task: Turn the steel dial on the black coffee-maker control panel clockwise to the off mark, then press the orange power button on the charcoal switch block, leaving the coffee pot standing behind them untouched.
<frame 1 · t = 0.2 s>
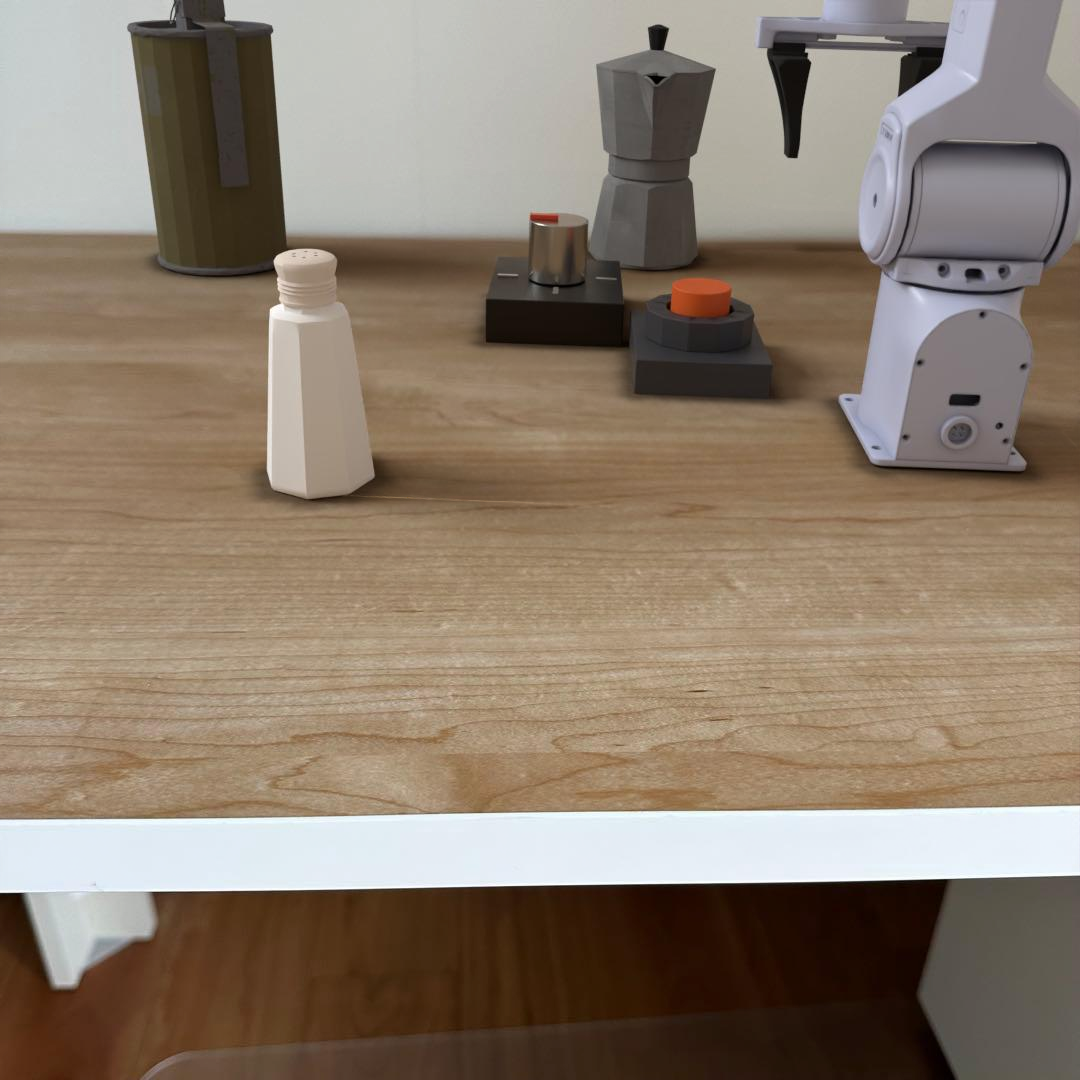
hand: (843, 158, 83), 10 cm above the table, tool pointing down, fingers open, 7 cm apart
pepper shaker: (321, 479, 56), on the table
canister: (226, 262, 92), on the table
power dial: (558, 246, 77), point 5 cm above the table, hinge at 90.0°
switch block: (694, 368, 72), on the table
coffeepot: (642, 255, 98), on the table
dial panel: (555, 320, 80), on the table
power button: (700, 299, 70), point 4 cm above the table, slide at 0.1 cm
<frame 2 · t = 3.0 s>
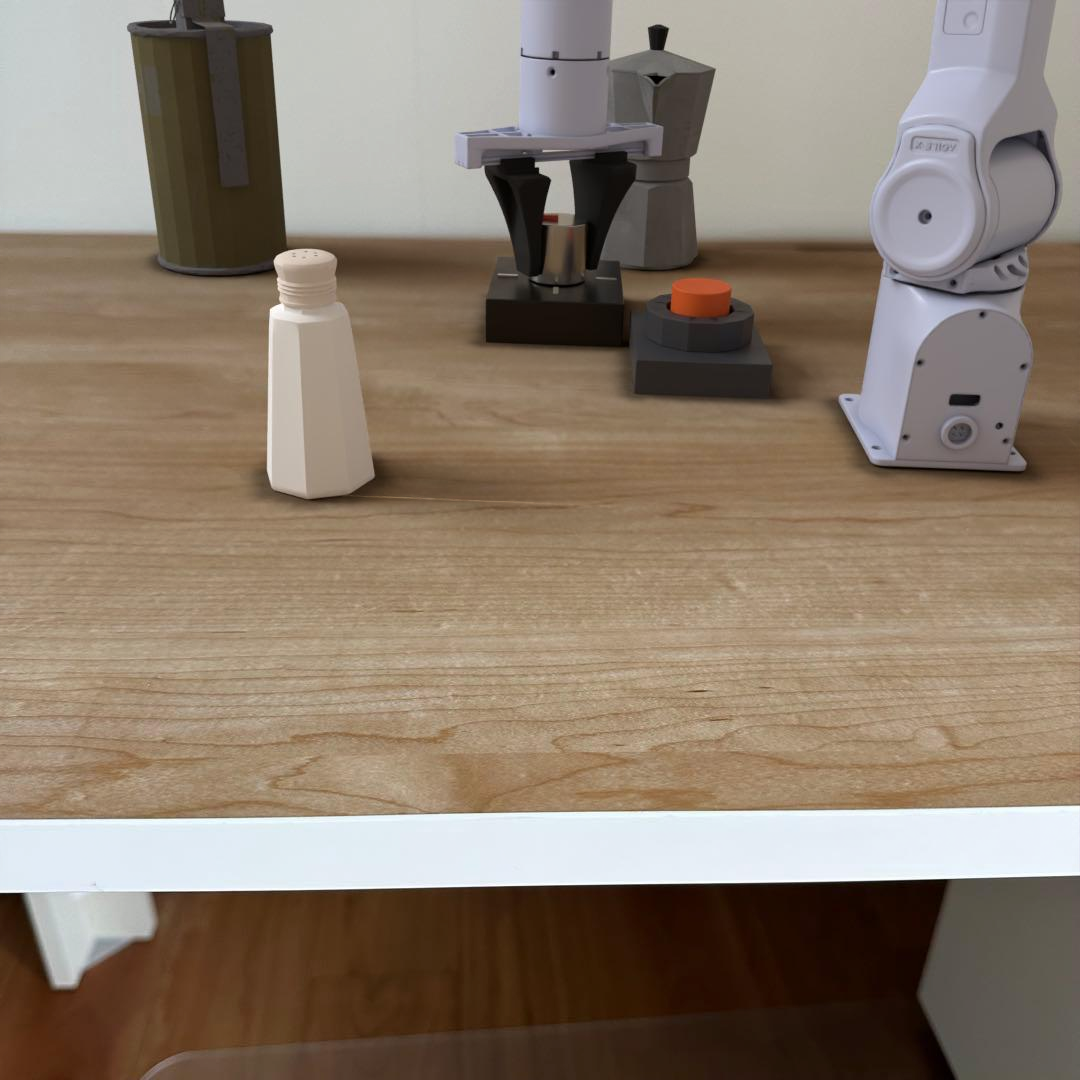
hand: (557, 269, 78), 4 cm above the table, tool pointing down, fingers closed on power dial, 4 cm apart
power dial: (558, 246, 77), point 5 cm above the table, hinge at 89.8°, touching gripper
everything else where it was.
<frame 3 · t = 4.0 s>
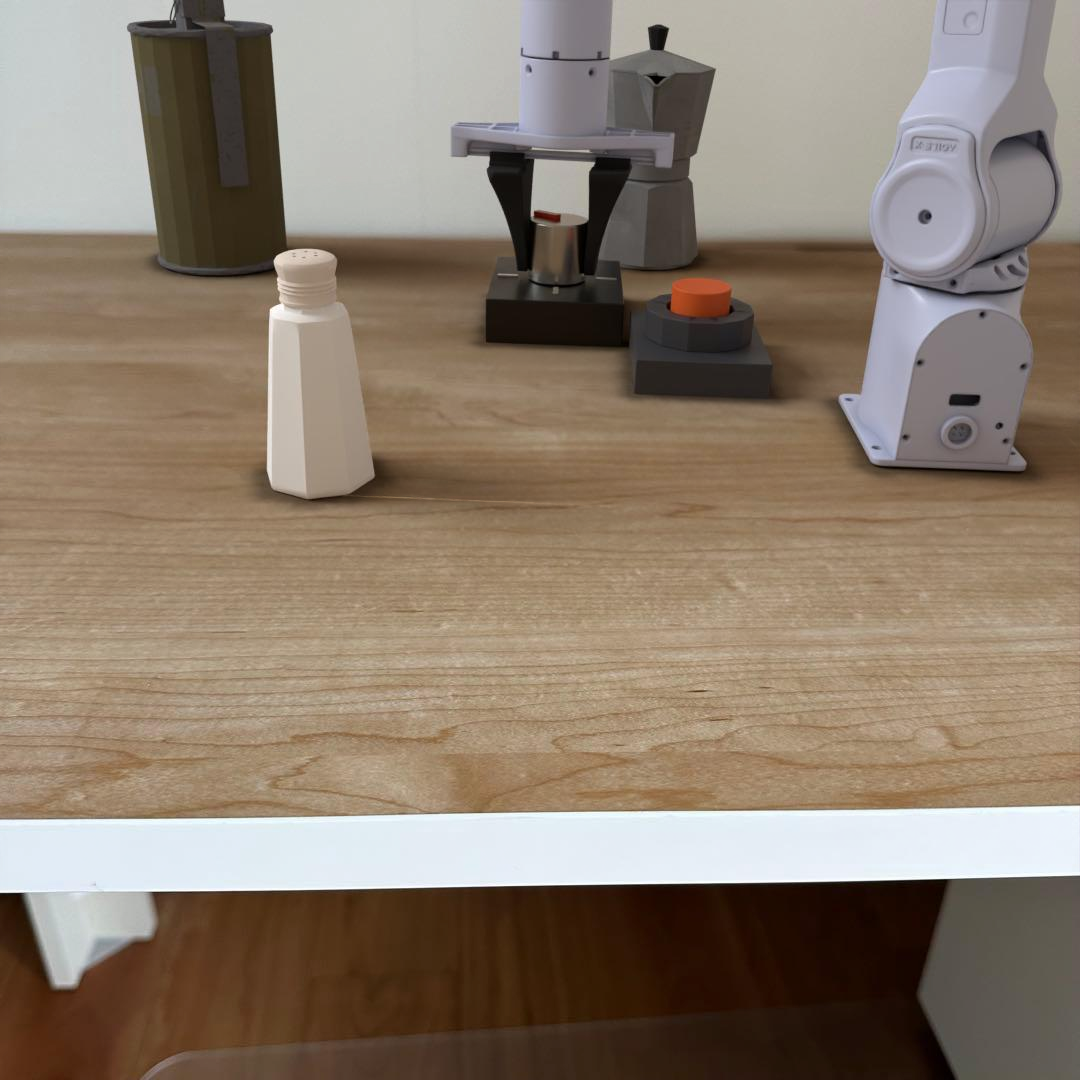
hand: (557, 269, 78), 4 cm above the table, tool pointing down, fingers closed on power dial, 4 cm apart
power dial: (558, 246, 77), point 5 cm above the table, hinge at 54.4°, touching gripper
everything else where it was.
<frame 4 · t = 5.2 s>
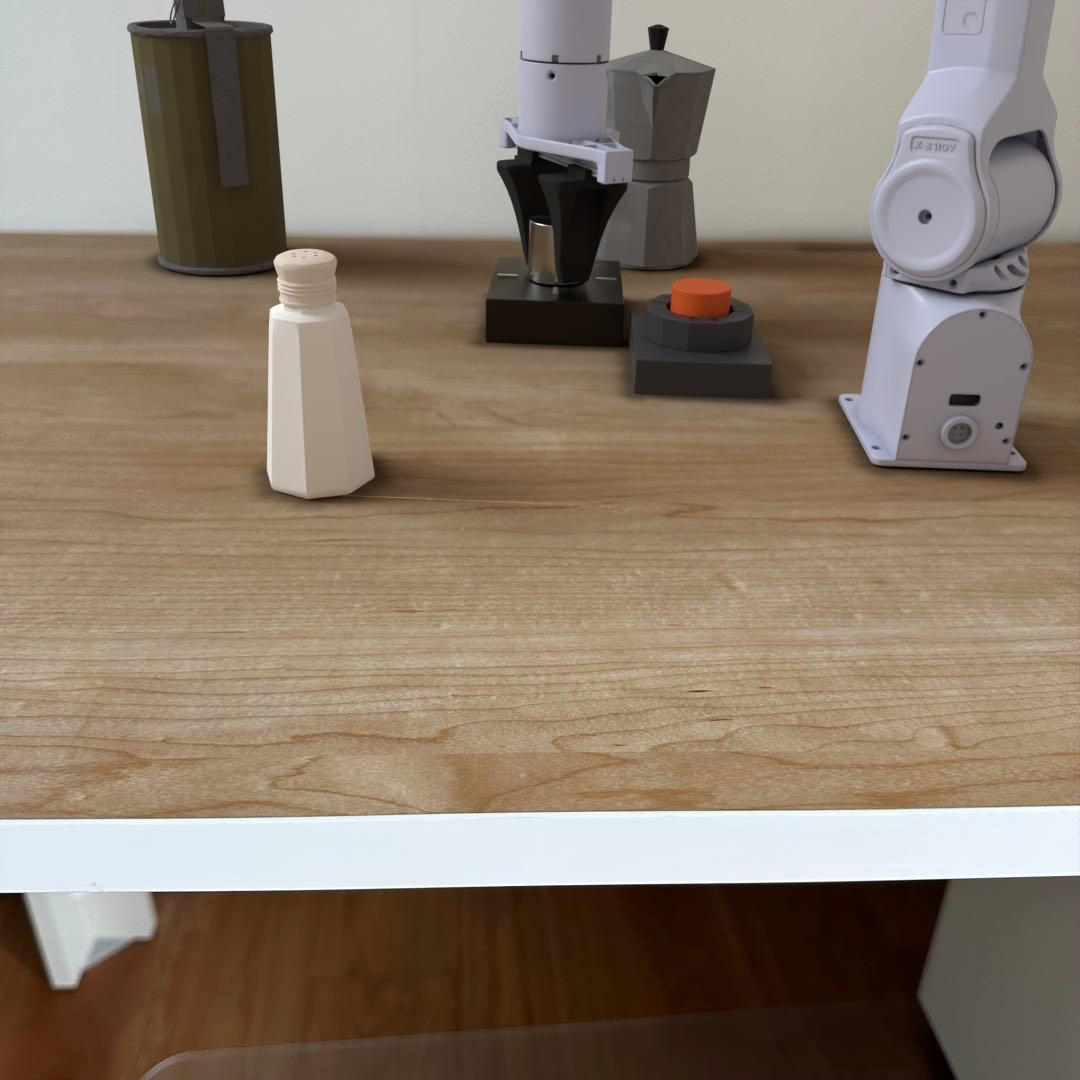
hand: (557, 272, 78), 3 cm above the table, tool pointing down, fingers closed on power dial, 4 cm apart
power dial: (558, 246, 77), point 5 cm above the table, hinge at -0.2°, touching gripper
everything else where it was.
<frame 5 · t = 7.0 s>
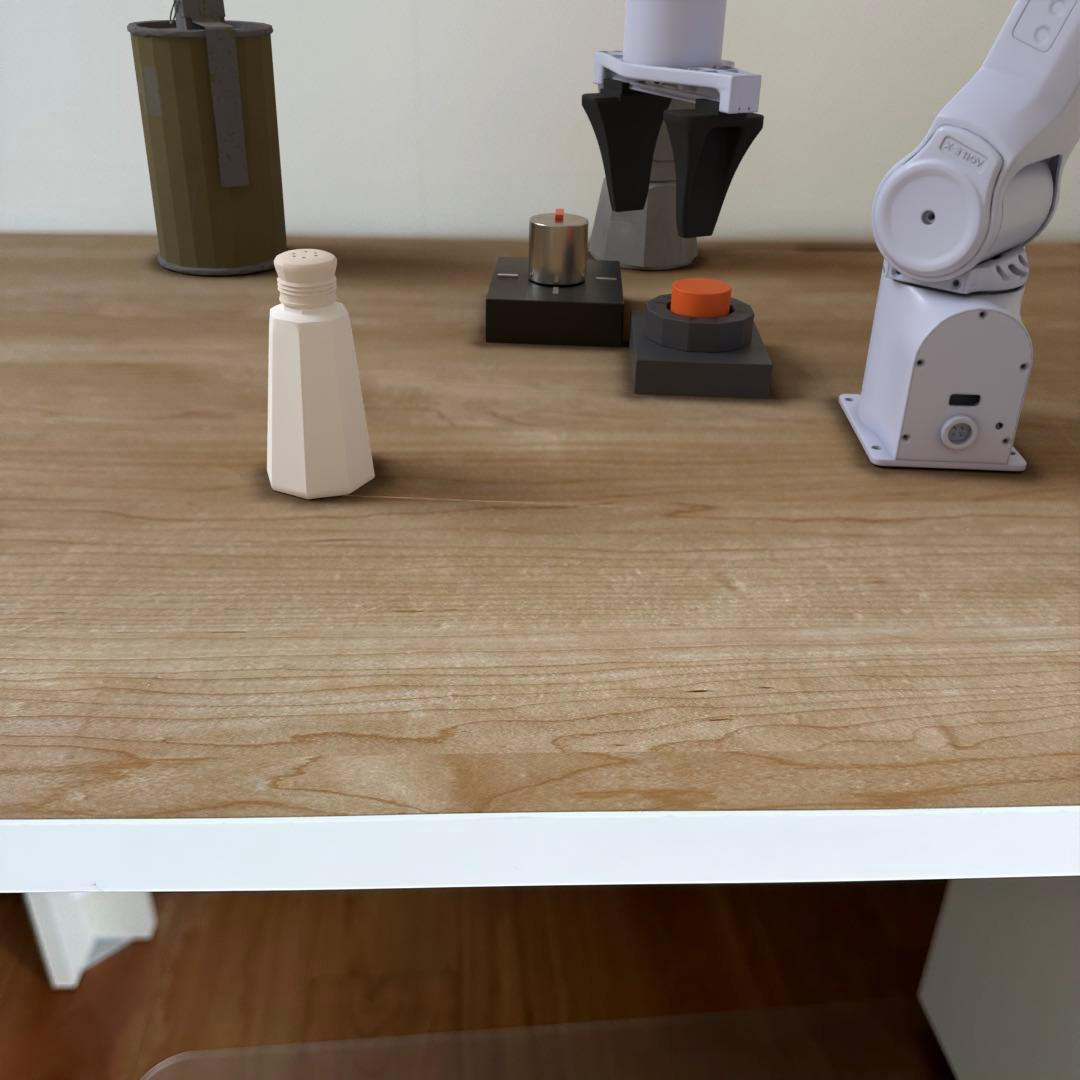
hand: (660, 222, 70), 8 cm above the table, tool pointing down, fingers open, 7 cm apart
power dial: (558, 246, 77), point 5 cm above the table, hinge at -0.2°
everything else where it was.
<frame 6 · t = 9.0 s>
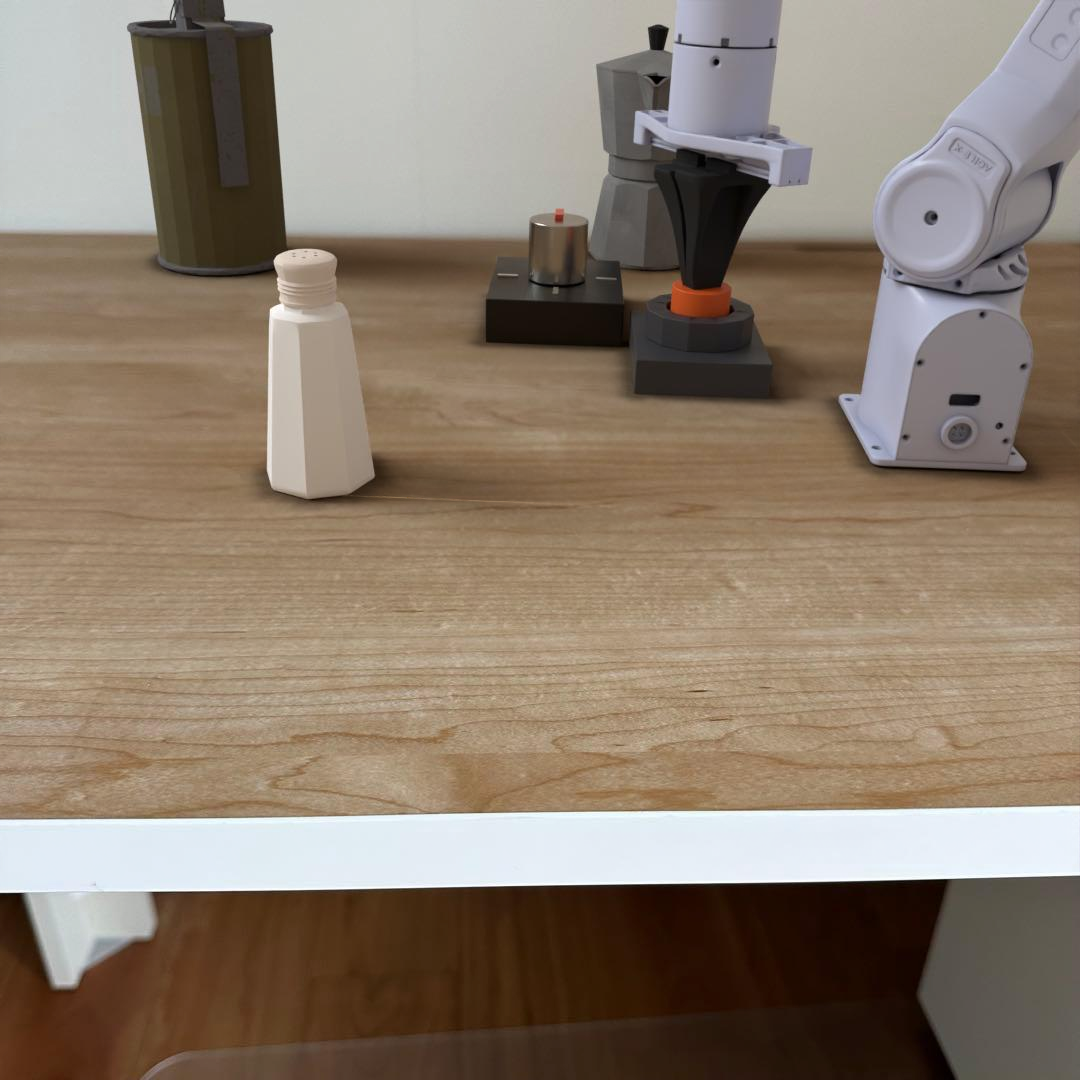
hand: (701, 286, 69), 5 cm above the table, tool pointing down, fingers closed, pressing on power button
power button: (700, 299, 70), point 4 cm above the table, slide at 0.1 cm, touching gripper
everything else where it was.
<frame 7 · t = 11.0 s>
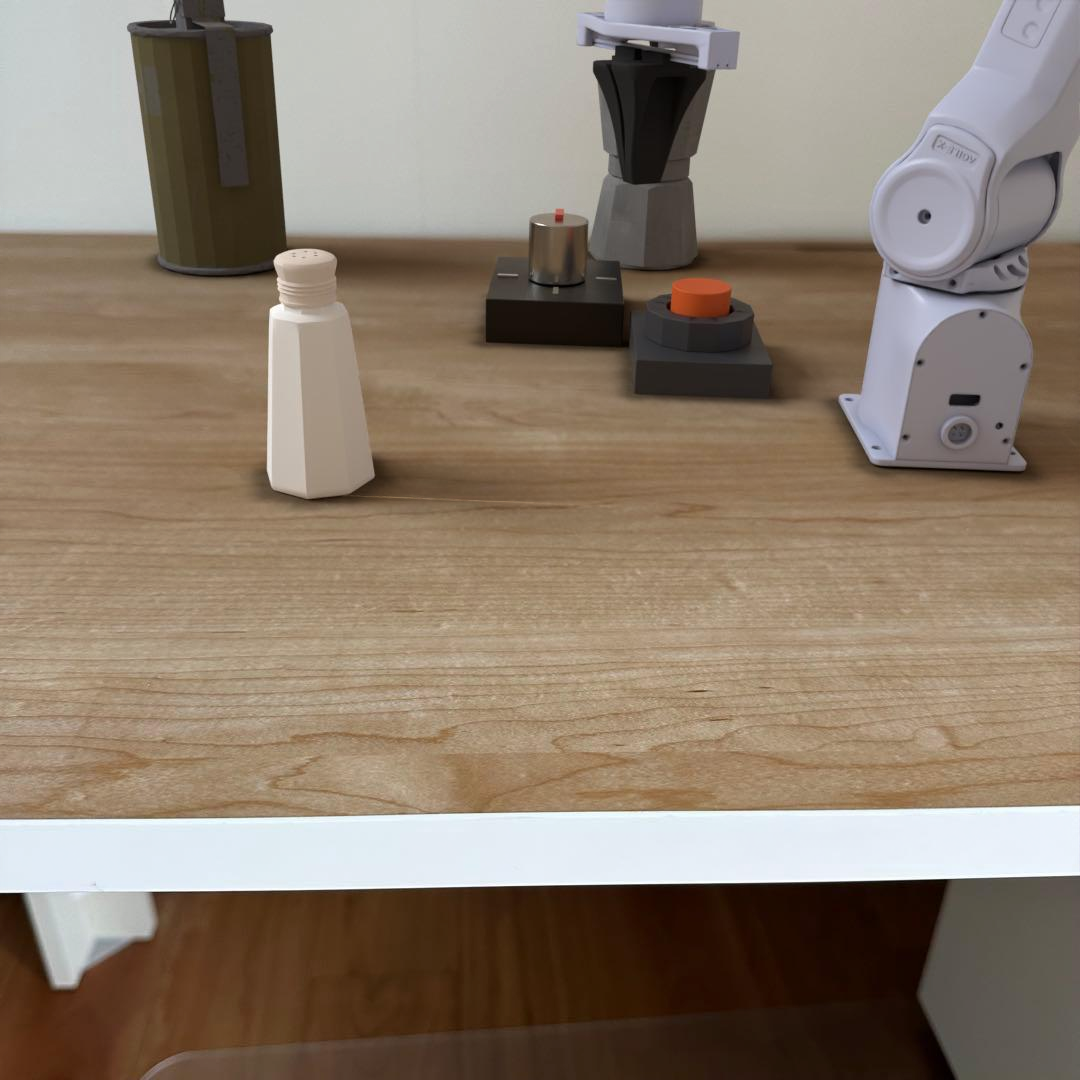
hand: (641, 182, 71), 10 cm above the table, tool pointing down, fingers closed
power button: (700, 299, 70), point 4 cm above the table, slide at 0.1 cm
everything else where it was.
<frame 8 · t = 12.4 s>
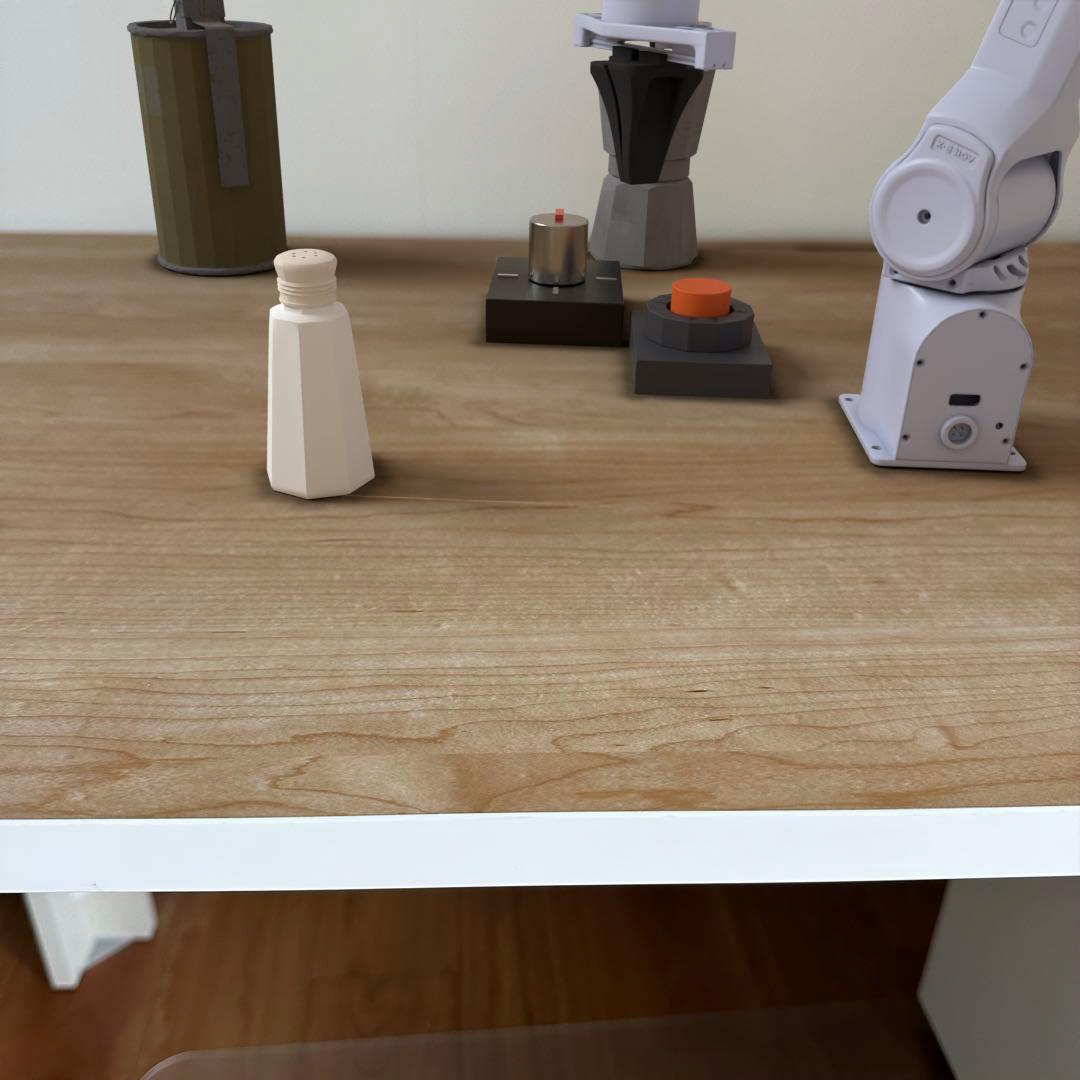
hand: (638, 182, 71), 10 cm above the table, tool pointing down, fingers closed
nothing on the table moved.
at the end: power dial at +0° (first picture: +90°); power button pushed in 1.2 cm at the most during the clip, back to where it started at the end; coffeepot moved 0.2 cm from its start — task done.
